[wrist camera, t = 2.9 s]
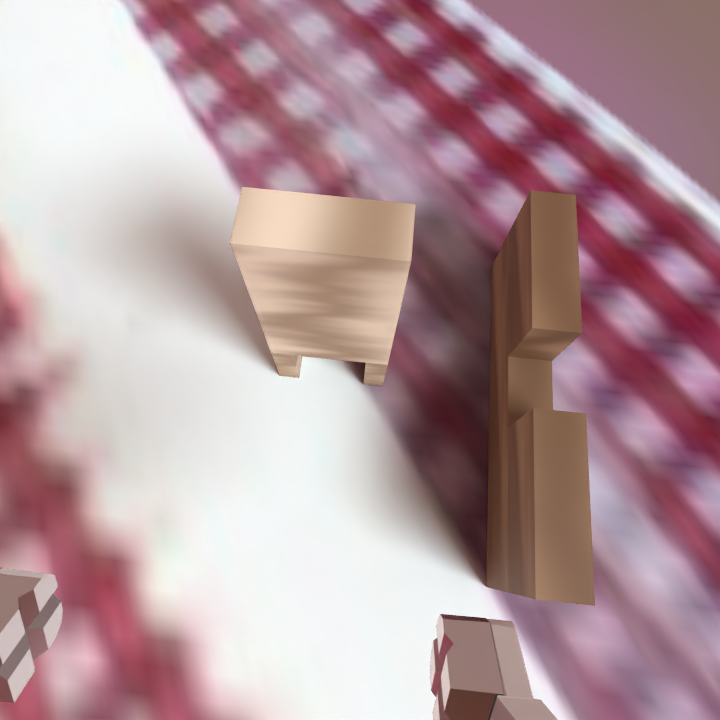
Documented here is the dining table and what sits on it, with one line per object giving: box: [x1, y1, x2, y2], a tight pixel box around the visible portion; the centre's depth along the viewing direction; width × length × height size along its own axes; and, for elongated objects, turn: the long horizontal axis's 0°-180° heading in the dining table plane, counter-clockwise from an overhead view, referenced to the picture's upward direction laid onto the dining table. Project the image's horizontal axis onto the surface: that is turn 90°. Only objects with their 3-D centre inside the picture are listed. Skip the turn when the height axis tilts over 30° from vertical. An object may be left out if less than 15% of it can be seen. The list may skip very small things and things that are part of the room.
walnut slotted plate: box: [486, 191, 595, 606], centre depth 29 cm, size 2×20×8 cm, turn 174°
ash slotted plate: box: [230, 187, 416, 386], centre depth 26 cm, size 6×2×15 cm, turn 84°
